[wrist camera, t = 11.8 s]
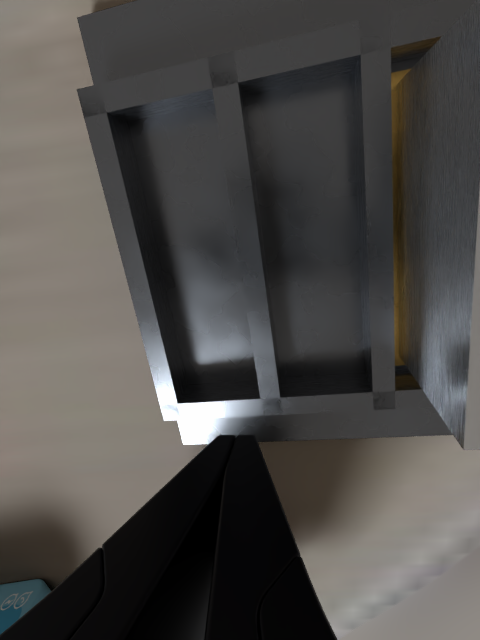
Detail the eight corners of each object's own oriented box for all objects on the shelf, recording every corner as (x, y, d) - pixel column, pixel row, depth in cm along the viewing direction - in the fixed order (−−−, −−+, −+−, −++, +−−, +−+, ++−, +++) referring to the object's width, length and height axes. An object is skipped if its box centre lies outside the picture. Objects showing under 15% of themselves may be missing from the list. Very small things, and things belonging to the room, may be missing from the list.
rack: (486, 421, 19) (519, 460, 16) (187, 434, 22) (173, 468, 20) (531, -96, 12) (601, -180, 10) (89, 28, 16) (45, -9, 13)
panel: (463, 350, 17) (571, 447, 10) (399, 355, 18) (463, 449, 11) (479, 66, 13) (663, -59, 7) (396, 84, 14) (492, -16, 7)
